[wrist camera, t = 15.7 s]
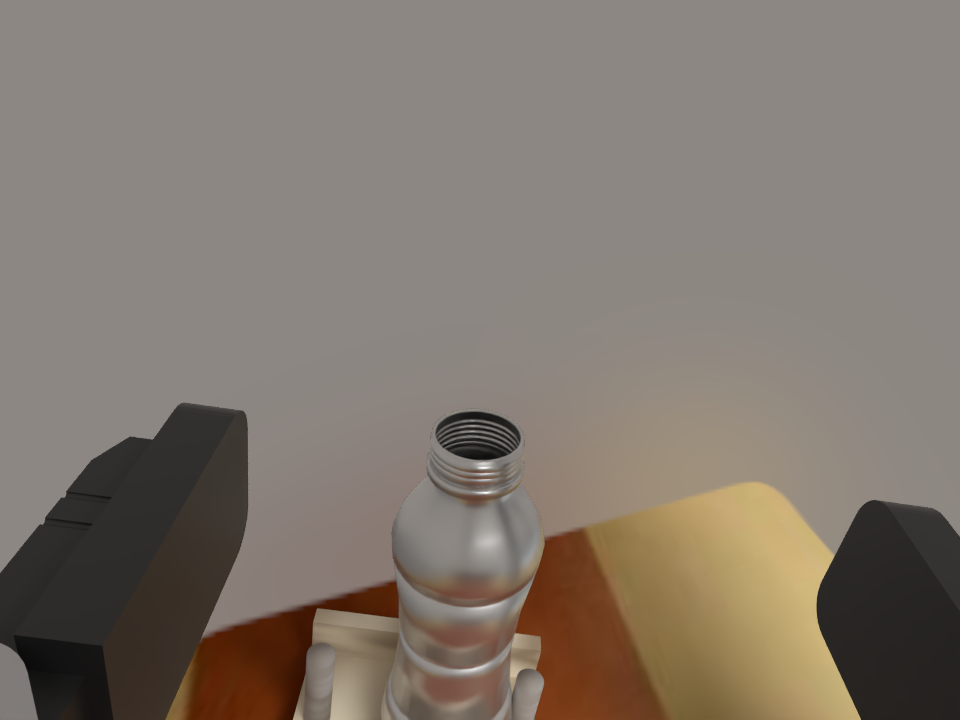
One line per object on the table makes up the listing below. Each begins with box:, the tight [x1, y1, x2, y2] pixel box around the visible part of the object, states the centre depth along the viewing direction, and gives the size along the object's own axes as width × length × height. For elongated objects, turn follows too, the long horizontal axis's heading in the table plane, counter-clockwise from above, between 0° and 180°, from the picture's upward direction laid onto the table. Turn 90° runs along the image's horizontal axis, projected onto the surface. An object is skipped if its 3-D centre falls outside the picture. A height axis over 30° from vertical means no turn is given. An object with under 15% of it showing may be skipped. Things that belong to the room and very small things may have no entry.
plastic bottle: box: [381, 409, 545, 720], centre depth 34 cm, size 6×7×20 cm
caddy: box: [293, 608, 544, 720], centre depth 39 cm, size 13×10×6 cm
